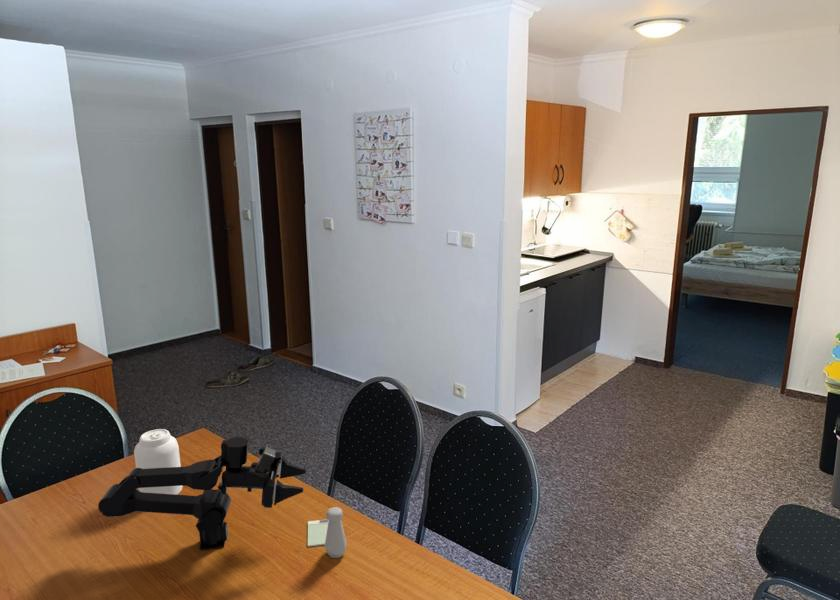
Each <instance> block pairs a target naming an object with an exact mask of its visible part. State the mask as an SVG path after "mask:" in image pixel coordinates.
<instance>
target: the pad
mask: <svg viewBox="0 0 840 600" xmlns="http://www.w3.org/2000/svg"><path fill="white" fill-rule="evenodd" d="M327 528H328V520H327V518H326V519H320V520H318V519H317V520H309V521H307V547H309V548H310V547H319V546H325V541H326V534H327Z"/></svg>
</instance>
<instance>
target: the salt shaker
mask: <svg viewBox="0 0 840 600" xmlns="http://www.w3.org/2000/svg"><path fill="white" fill-rule="evenodd" d="M325 516H326V519H327V520H328V528H327V534H326V541H325V545H324V548H325V552H326V553H327V554H328V556H329V558H332V559H339V558H341V557H342V556H344V555H345V554H344V553H345V551H346V549H347V546H348V543H347V538H346V536H345V530H344V526H343V522H342V519H343V517H344V513H343V510H342V509H341V508H340V507H337V506H334V507H330V508H328V509H327V511H326V514H325Z"/></svg>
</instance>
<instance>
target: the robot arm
mask: <svg viewBox="0 0 840 600" xmlns="http://www.w3.org/2000/svg"><path fill="white" fill-rule="evenodd" d="M220 450H221V452H220V453H221V454H219V455H218V456H216V457H215V458H213V459H205V460H201V461H197V462H195V463H192V464H189V465H186V466H181V467H169V468H150V469H142V468H136V467H135V468H134V469H132V470H131V471H130V472H129V473H128V475H126V476H125V477H124V478H123V479H122V480H121V481H120V482H119V483H115V484H113V485H112V486H110V487H109V488H108V489H107V491H106V492H105V493H104V495H103V496H102V498H101V499H100V501H99V502H98V504H97V507H98V510H99V512H100V513H101V514H102V516H103V517H106V518H116V517H117V518H118V517H123V516H127V515H130V514H133V513H136V512H138V513H139V512H140V513H151V514H152V513H155V514H167V515H170V514H171V515H182V516H183V515H186V516H193V517H194V518H196V519H197V521H196V525H195V527H196V529H197V531H198V535H199V546H198V550H199V551H201V550H202V551H203V550H210V549H218V548H224V547H225V544H226V541H227V540H228V535H229V530H228V522H227V521H225V519H226V517H227V514H228V510H229V508H230V505H231V502H232V501H231V500H232V499H231V497H230V495H229V494H228V493H227V491H228V489H229V488H235V489H236V488H237V489H247V493H251V492H252V490H253V489H254V490H262V493H261V503H260V505H261V506H263V508H264V509H273V505H274V506H276V505H277V504H279V503H280V502H283V501H285V500H287V499H289V498H292V497H295V496H297V495H300V494H302V493H303V492H304V487H300V486H297V485H296V486H295V485H289V484H283V482H281V481H280V480H279V479H286V478H291V477H297V476H302V475H305V474H307V470H306V468H305V469H304V468H303V467H301V466H298V465H295V464H292V463H291V462H289V461H288V460H287V459H286V458H285V455H284V454H283V453H282V451H281V452H279V451H277V450H275V449H273V447H272V445H270V444H269V445H267V444H266V445H260V448H259V451H258V455H259V459H258V461H257V462H255V461H254V462H251V464H250V466H249V465H245V464H247V462H248V452H249V440H248V439H247V438H246V437H242V436H235V437H230V438H228V439H223V440H221V444H220ZM282 454H283V455H282ZM223 469H225V470H223ZM220 476H221V482H219V481H218V480H219V479H220ZM277 478H279V479H277ZM218 482H219V484H218V486H217V488H216V489H213V488H215V486H216V485H217V483H218ZM165 486H183V487H184V486H185V487H188V488H190V489H193V490H197V491H198V490H199V491H200V490H201V491H203V492H202V494H198V495H187V494H185V495H184V494H177V495H174V494H159V493H144V492H140V491H139V488H147V487H165Z"/></svg>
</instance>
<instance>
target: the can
mask: <svg viewBox="0 0 840 600" xmlns="http://www.w3.org/2000/svg"><path fill="white" fill-rule="evenodd" d="M178 443H179V442H178V440H177V439H176V438H175V437H174V436H172V435H171V433H170V431H169V430H167V429H165V428H157V429H152V430H148V431H146V432H144V433H142V434H141V435H140V437H139V442H137V444H136V445H135V446H134V450H133V455H134V462H135V468H142V469H150V468H169V467H182V465H181V456H180V449H179V444H178ZM183 487H184V486H165V487H147V488H138V491H140V492H144V493H159V494H174V495H180V492H181V491H182V490H183Z"/></svg>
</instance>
